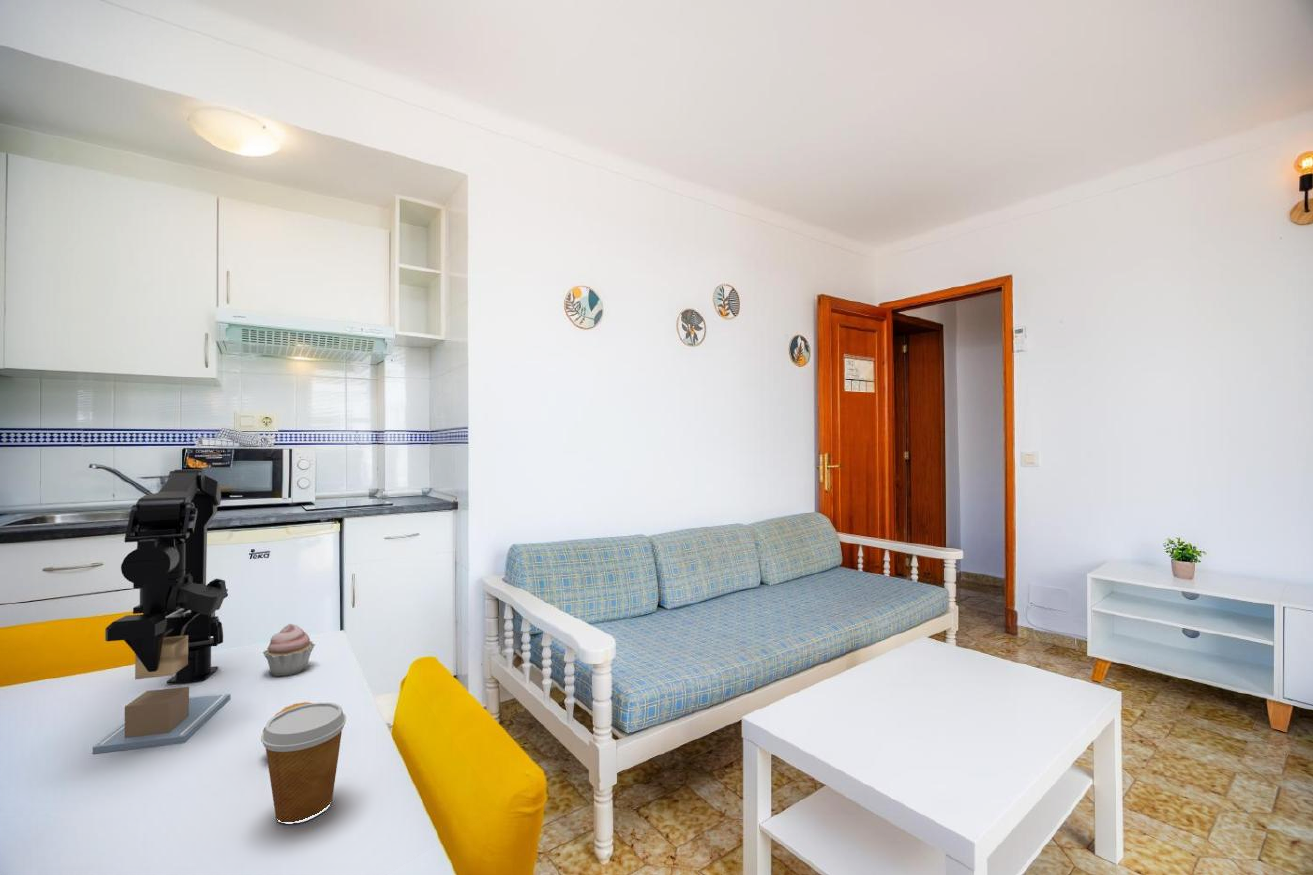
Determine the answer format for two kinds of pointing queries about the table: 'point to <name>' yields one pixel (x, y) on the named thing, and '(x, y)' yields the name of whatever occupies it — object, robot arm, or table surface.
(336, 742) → the disposable coffee cup
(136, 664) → the oak cube
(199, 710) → the blueprint board
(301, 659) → the cupcake
